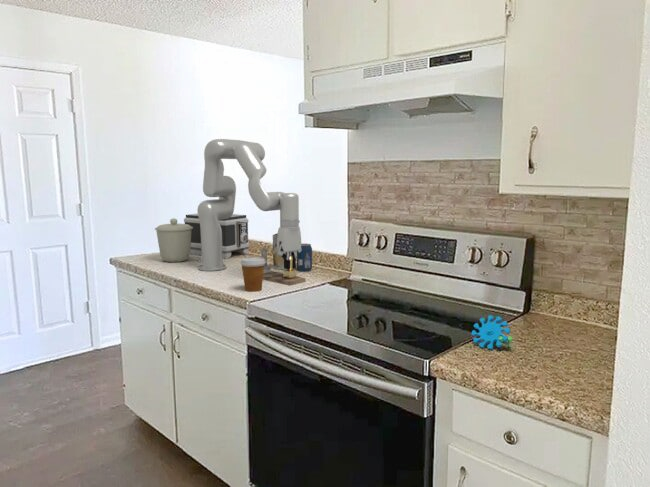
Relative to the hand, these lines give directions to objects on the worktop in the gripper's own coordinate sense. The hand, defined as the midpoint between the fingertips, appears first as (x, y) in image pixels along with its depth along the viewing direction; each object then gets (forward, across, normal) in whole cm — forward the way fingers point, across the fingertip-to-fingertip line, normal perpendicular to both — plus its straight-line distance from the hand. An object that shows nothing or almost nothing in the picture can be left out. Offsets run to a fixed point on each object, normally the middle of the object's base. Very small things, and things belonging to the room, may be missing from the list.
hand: (289, 267), depth 210 cm
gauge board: (+6, 0, -7) cm, 9 cm away
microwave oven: (+6, -19, -74) cm, 76 cm away
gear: (+6, +15, +94) cm, 95 cm away
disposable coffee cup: (+6, +19, 0) cm, 20 cm away
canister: (+6, +8, -75) cm, 76 cm away
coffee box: (+6, -16, -21) cm, 27 cm away
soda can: (+6, -20, -11) cm, 23 cm away
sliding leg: (+4, +1, 0) cm, 4 cm away
